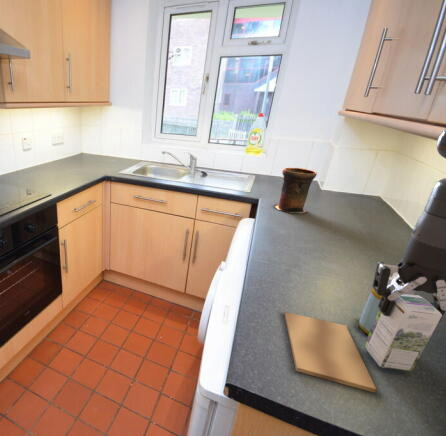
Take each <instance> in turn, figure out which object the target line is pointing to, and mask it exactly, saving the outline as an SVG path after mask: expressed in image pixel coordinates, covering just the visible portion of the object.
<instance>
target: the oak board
mask: <svg viewBox="0 0 446 436" xmlns="http://www.w3.org/2000/svg"><path fill="white" fill-rule="evenodd" d="M284 320H285V324H286V330H287V334H288V335H287V336H288V338H289V343H290V349H291V352H292V353H291V354H292V359H293V362H294V363H293V364H294V368H295V371H296V372H298V373H302V374H306V375H309V376H313V377H317V378H320V379H324V380H326V381H330V382H335V383H338V384H342V385H345V386H349V387H352V388H356V389H360V390H363V391H366V392H371V393H373V394H375V393H376V391H377V387H376V385H375V383H374V381H373V379H372V377H371V375H370V372H369V371H368V369H367V367H366V364H365V362H364V360H363V358H362V356H361V354H360V352H359V349H358V347H357V345H356V343H355V341H354V339H353V337H352V335H351V333H350V331H349V329H348V326H347V325H346V324H341V323H337V322H331V321H327V320H324V319H318V318H314V317H309V316H307V315H301V314H296V313H291V312H287V311H285V312H284Z"/></svg>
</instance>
